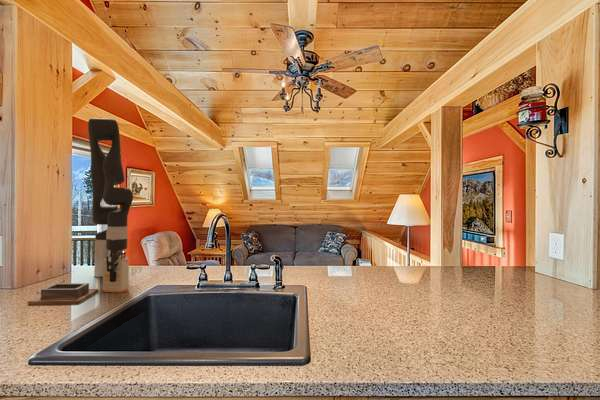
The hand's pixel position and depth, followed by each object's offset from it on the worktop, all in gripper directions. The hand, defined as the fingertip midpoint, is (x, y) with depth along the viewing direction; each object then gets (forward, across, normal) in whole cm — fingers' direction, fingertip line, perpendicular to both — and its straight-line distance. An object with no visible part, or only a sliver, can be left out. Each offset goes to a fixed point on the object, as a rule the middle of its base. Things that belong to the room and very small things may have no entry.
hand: (115, 279), depth 138 cm
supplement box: (+5, 0, 0) cm, 5 cm away
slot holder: (+5, +9, -14) cm, 17 cm away
